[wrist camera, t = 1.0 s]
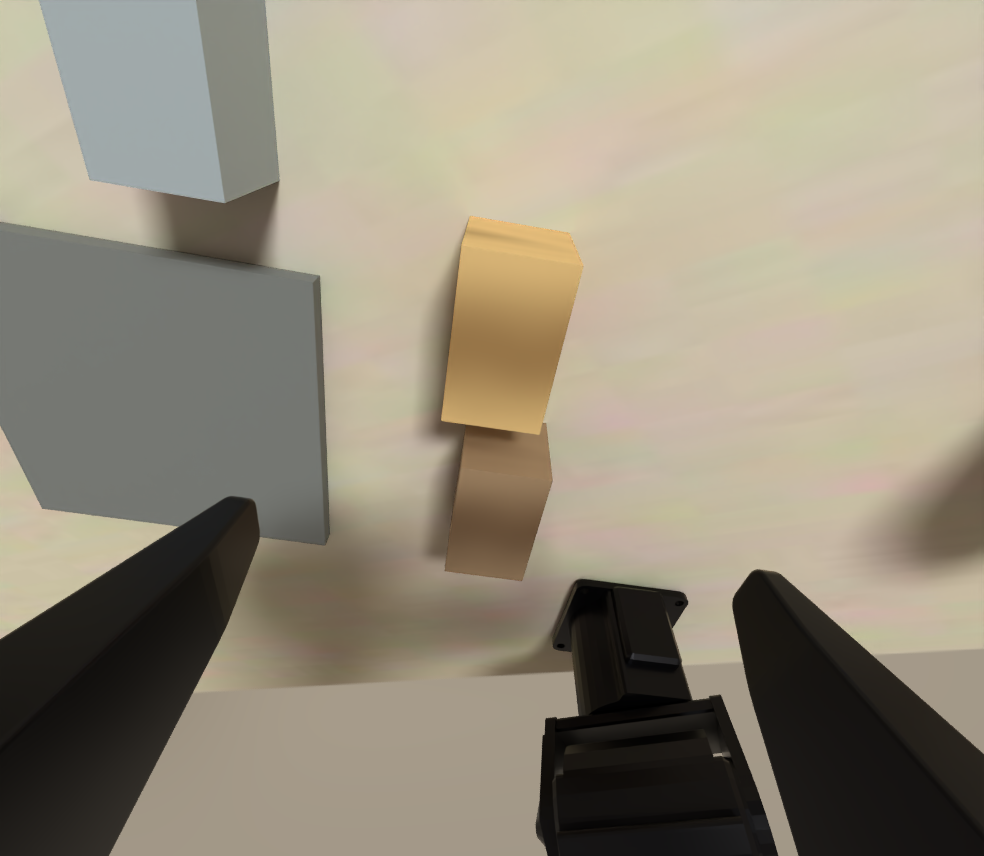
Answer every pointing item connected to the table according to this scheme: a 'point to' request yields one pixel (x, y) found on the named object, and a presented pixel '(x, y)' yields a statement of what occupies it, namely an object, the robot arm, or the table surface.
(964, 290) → the table surface
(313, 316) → the grey mat
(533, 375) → the honey block
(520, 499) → the walnut block
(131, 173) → the blue-grey block
